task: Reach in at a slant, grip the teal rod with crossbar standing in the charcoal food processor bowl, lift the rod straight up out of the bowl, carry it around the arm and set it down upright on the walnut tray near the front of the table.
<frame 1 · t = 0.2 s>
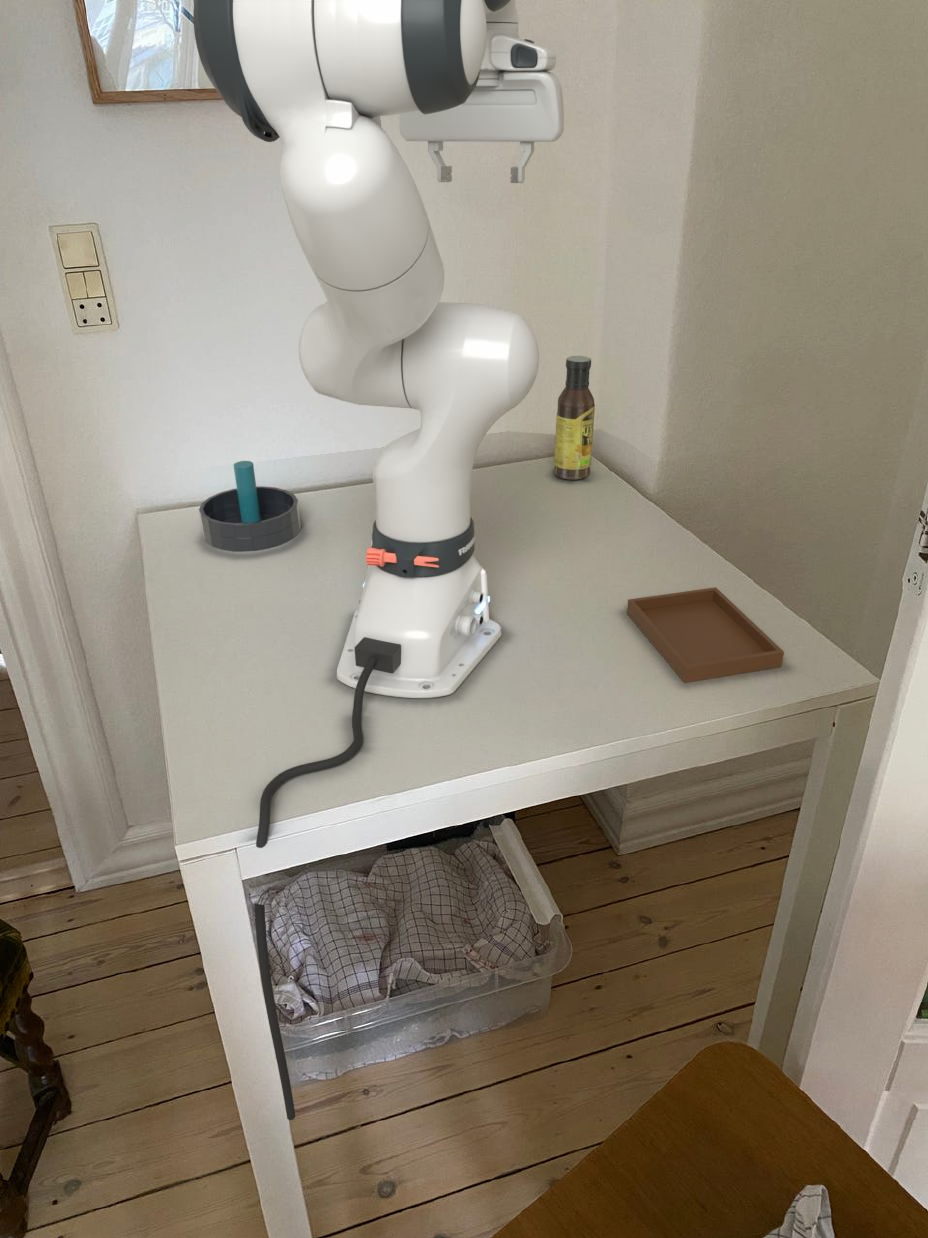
hand: (480, 182, 116), 48 cm above the table, tool pointing down, fingers open, 8 cm apart
sauce bottle: (572, 476, 158), on the table
tray: (700, 639, 111), on the table
processor bowl: (253, 535, 138), on the table
teal rod with crossbar: (252, 530, 138), point 1 cm above the table, touching processor bowl
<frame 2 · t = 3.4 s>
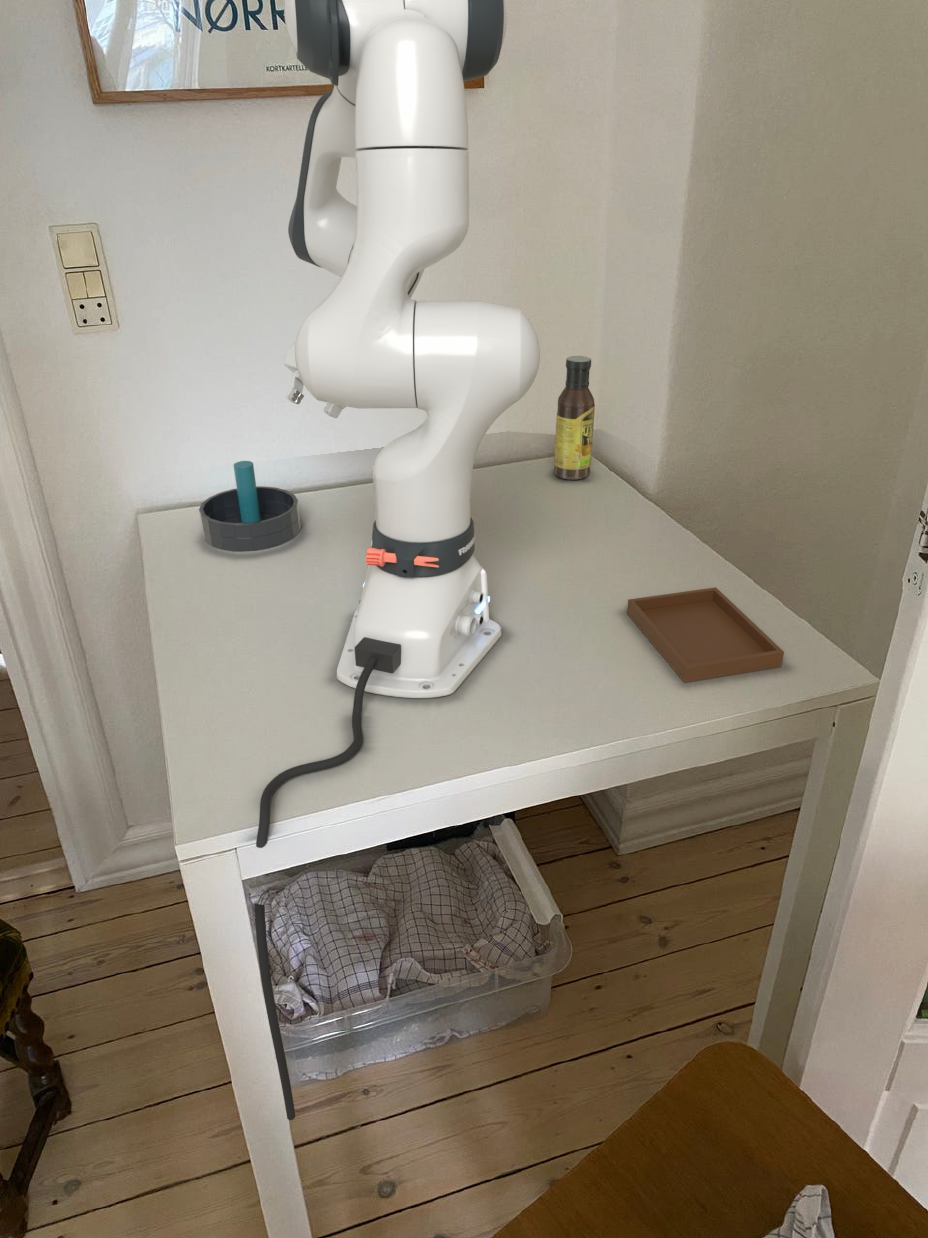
hand: (310, 408, 137), 17 cm above the table, tool tilted 45°, fingers open, 8 cm apart
nothing on the table moved.
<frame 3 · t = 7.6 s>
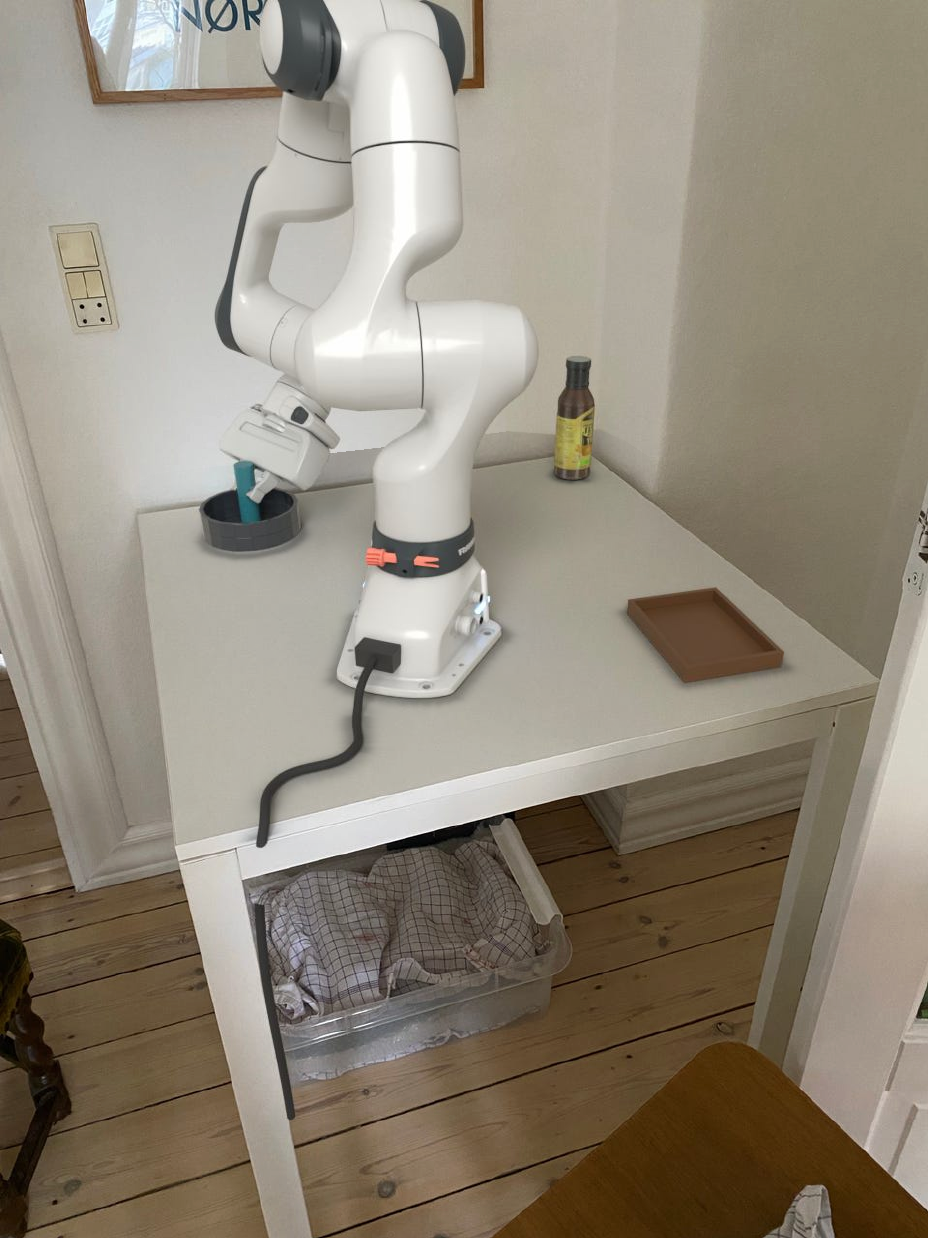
hand: (243, 496, 135), 6 cm above the table, tool tilted 45°, fingers closed on teal rod with crossbar, 3 cm apart
teal rod with crossbar: (252, 530, 138), point 1 cm above the table, touching gripper, processor bowl
everything else where it was.
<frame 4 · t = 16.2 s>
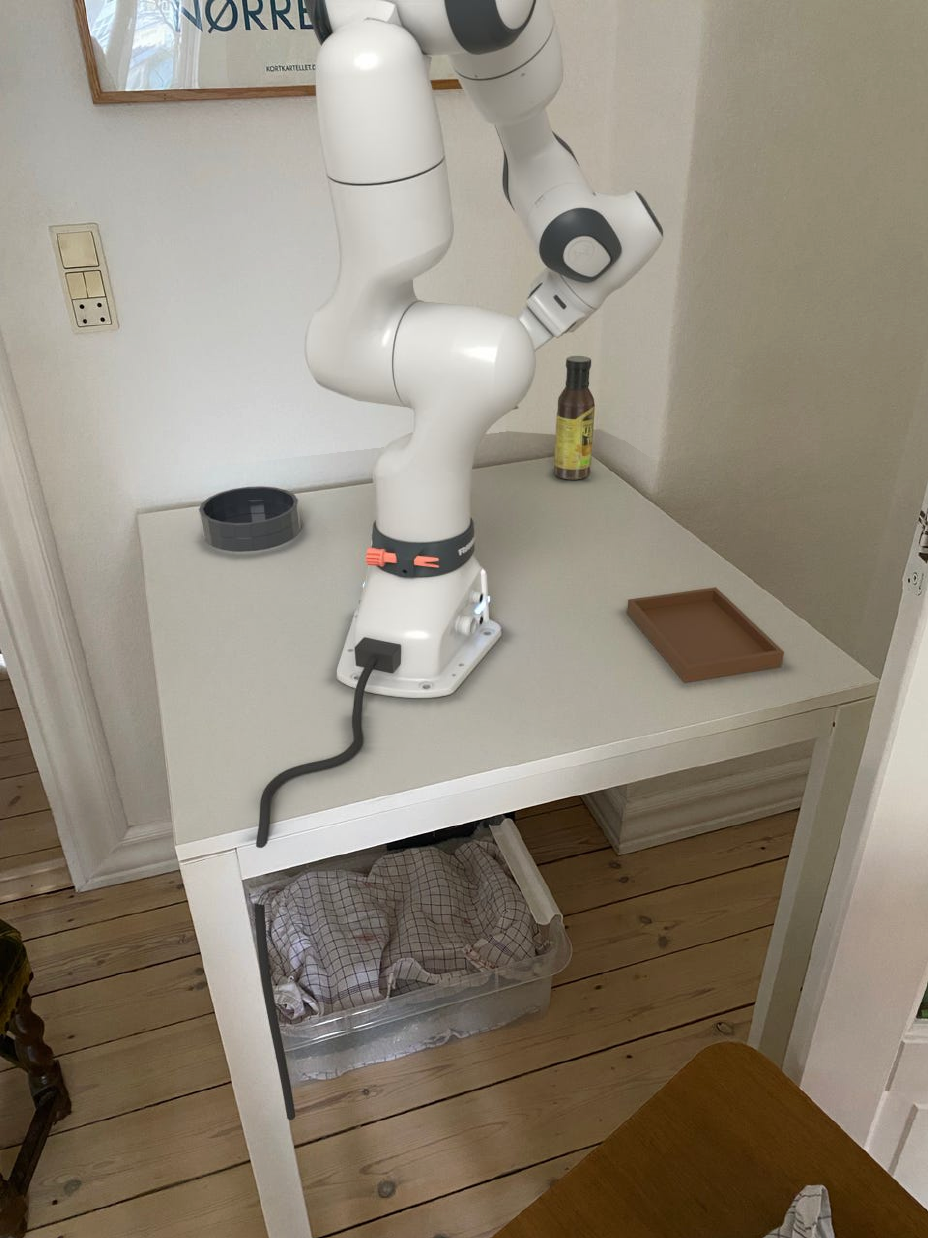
hand: (491, 366, 133), 23 cm above the table, tool tilted 45°, fingers closed on teal rod with crossbar, 3 cm apart
teal rod with crossbar: (495, 405, 136), point 17 cm above the table, touching gripper
everything else where it was.
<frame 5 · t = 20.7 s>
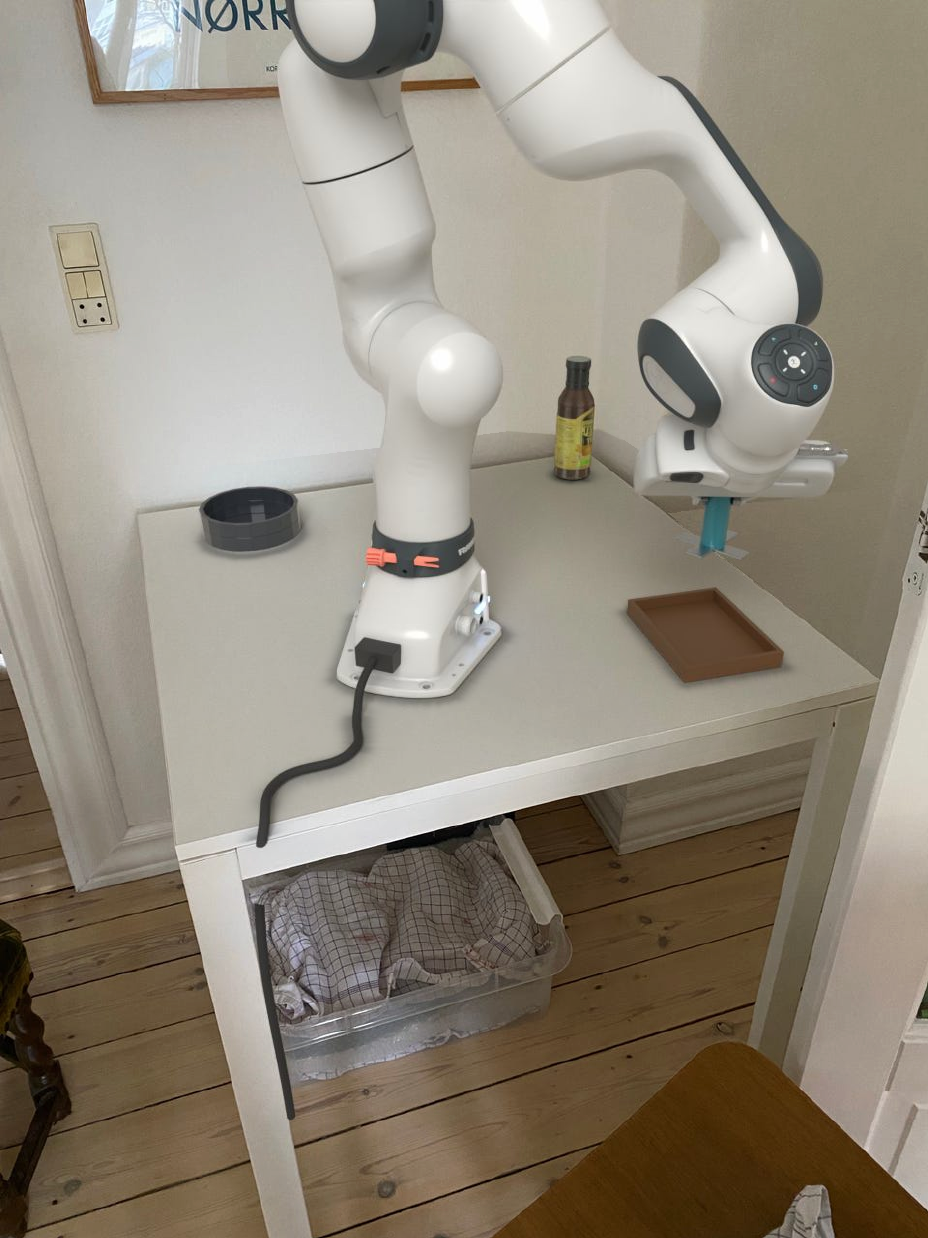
hand: (717, 499, 104), 18 cm above the table, tool tilted 45°, fingers closed on teal rod with crossbar, 3 cm apart
teal rod with crossbar: (712, 547, 106), point 12 cm above the table, touching gripper
everything else where it was.
when the fingers open (6 cm above the table, at t = 24.6 s): teal rod with crossbar stays where it is, resting on tray.
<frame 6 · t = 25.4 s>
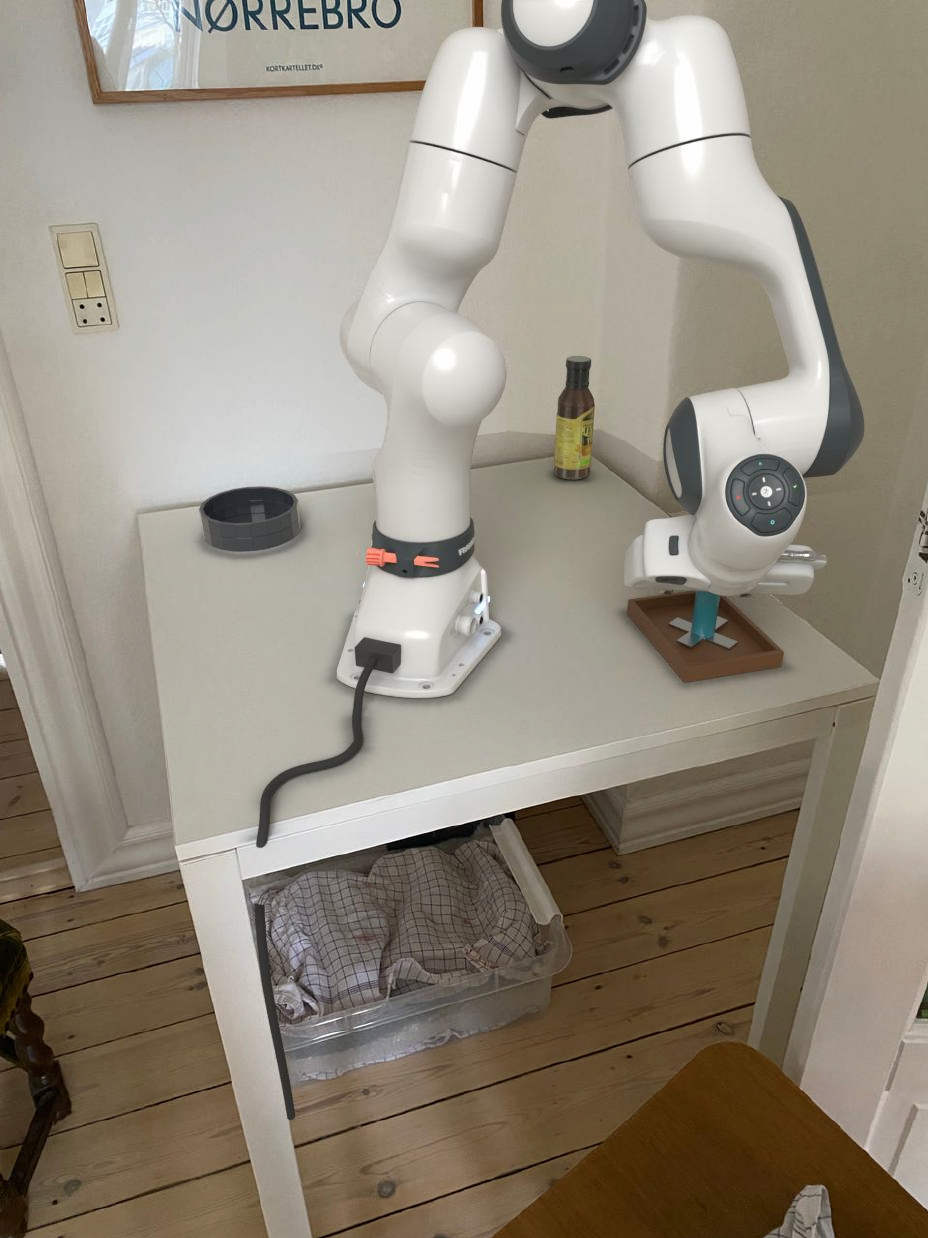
hand: (705, 589, 109), 7 cm above the table, tool tilted 45°, fingers open, 8 cm apart
teal rod with crossbar: (702, 634, 111), point 1 cm above the table, touching tray
everything else where it was.
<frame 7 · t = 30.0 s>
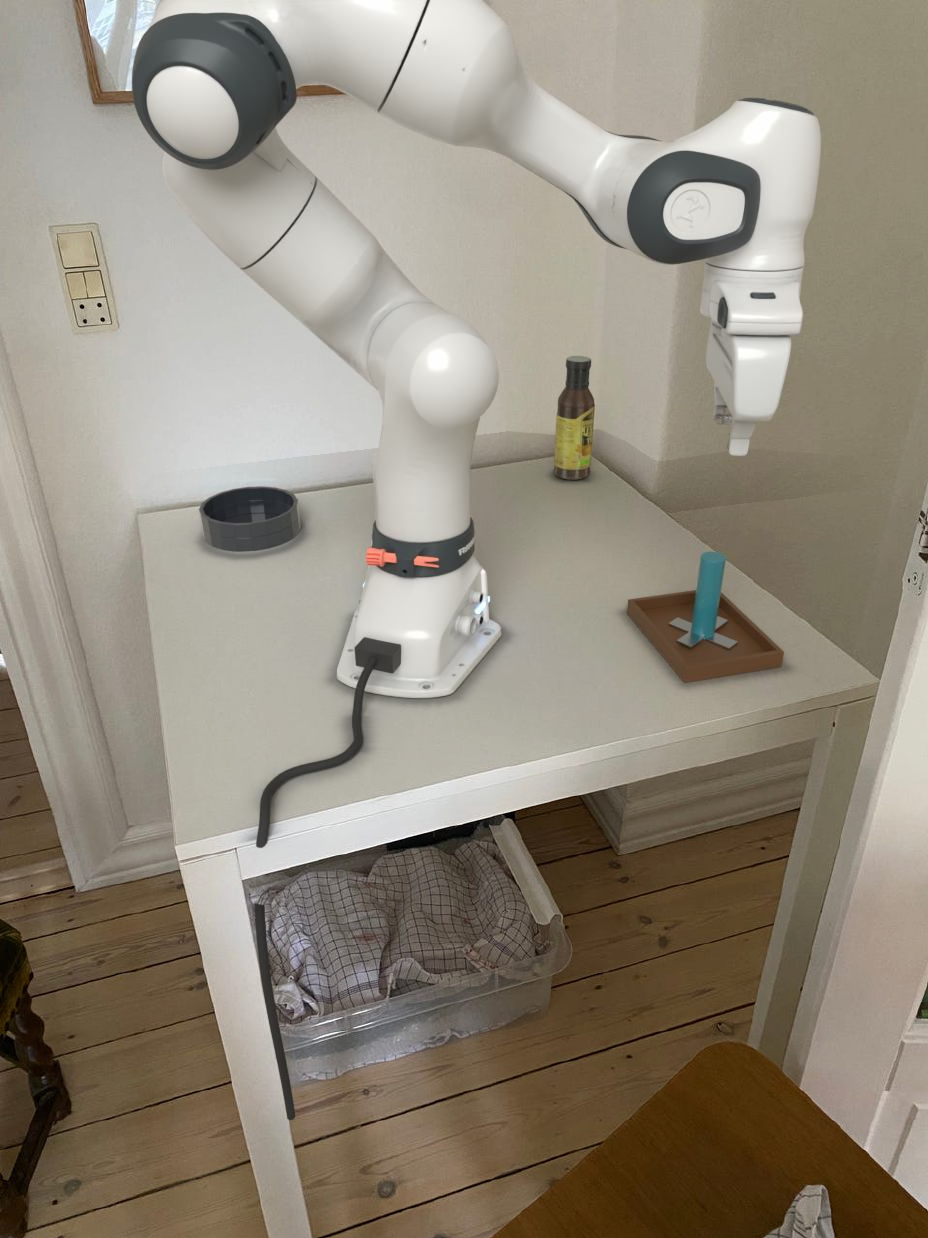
hand: (729, 437, 94), 27 cm above the table, tool pointing down, fingers open, 8 cm apart
nothing on the table moved.
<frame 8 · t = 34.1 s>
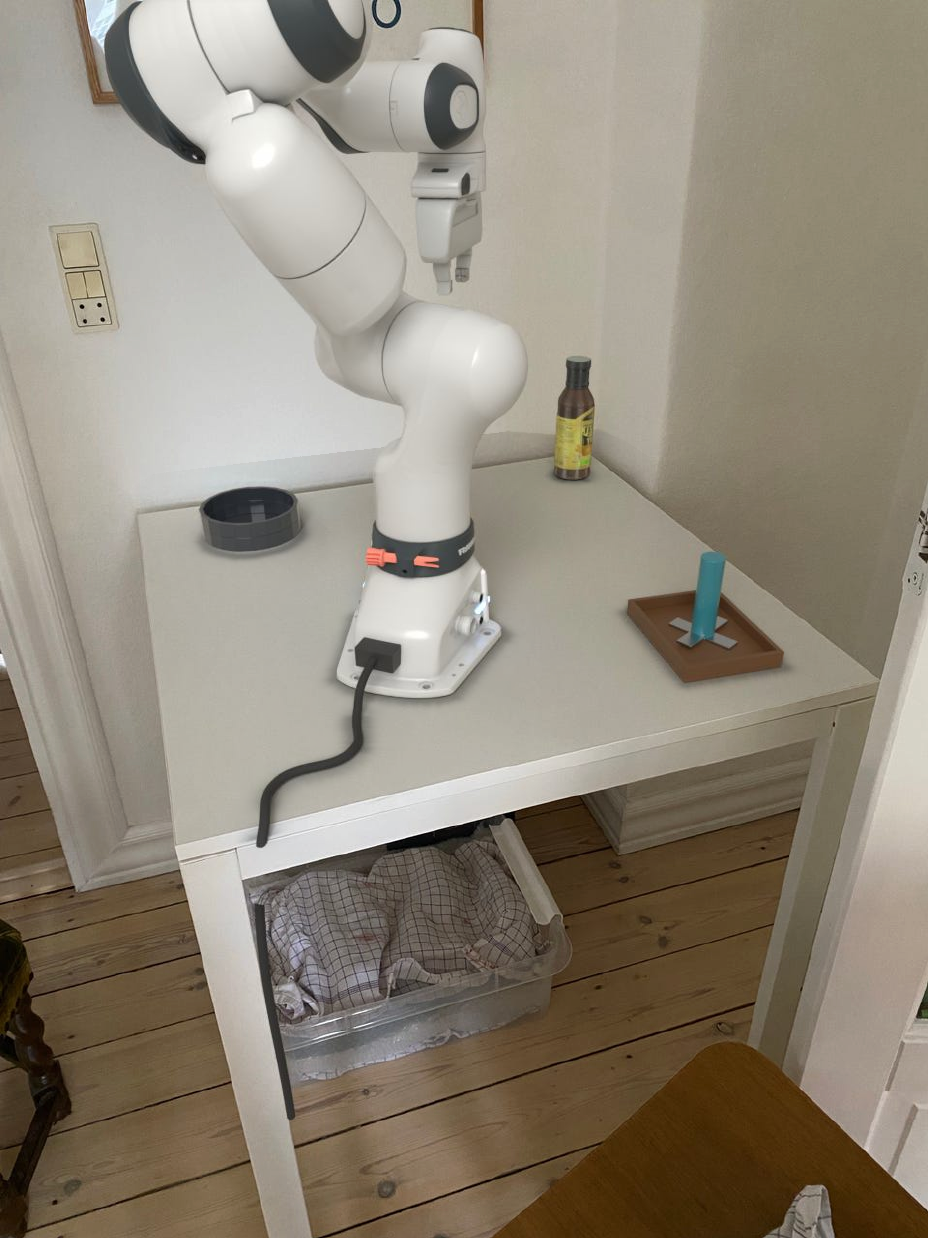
hand: (453, 287, 127), 34 cm above the table, tool pointing down, fingers open, 8 cm apart
nothing on the table moved.
at the end: teal rod with crossbar inside the target area in the tray (0.2 cm from its centre), point 0.6 cm above the tray's base; the gripper is holding nothing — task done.
